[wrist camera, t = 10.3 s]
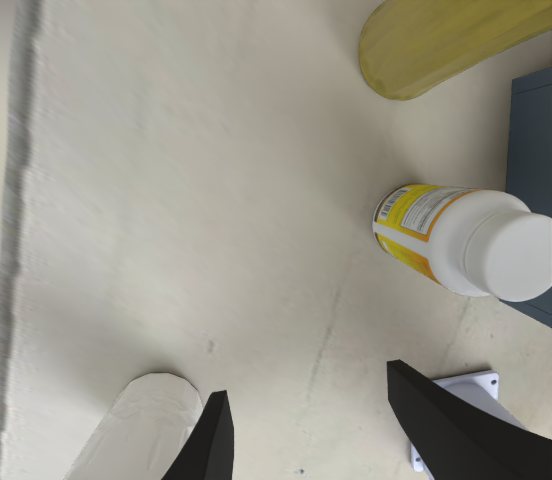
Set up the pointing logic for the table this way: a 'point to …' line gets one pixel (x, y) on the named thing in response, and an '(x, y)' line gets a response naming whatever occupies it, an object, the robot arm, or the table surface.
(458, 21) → the vase
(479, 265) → the supplement bottle
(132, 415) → the white cup
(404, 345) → the table surface
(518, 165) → the open box
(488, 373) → the robot arm
